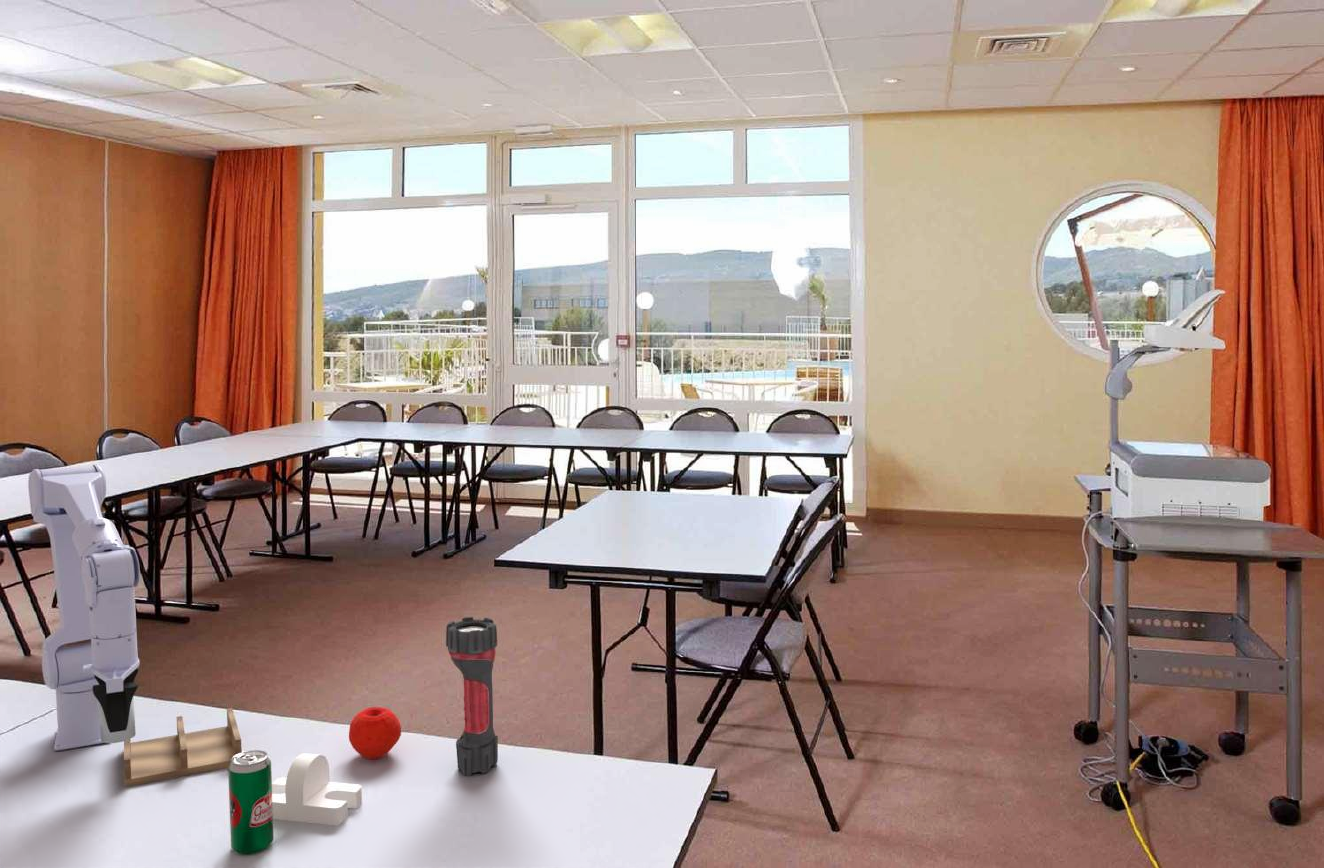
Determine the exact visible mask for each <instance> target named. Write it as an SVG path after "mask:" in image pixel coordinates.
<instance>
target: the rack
mask: <svg viewBox="0 0 1324 868" xmlns="http://www.w3.org/2000/svg"><path fill="white" fill-rule="evenodd" d="M226 720H227V721H226V722H227V725H226V726H221V727H214V728H209V729H204V730H199V731H192V732H191V731H190V732H185V726H184V720H183V715H180V716H176V731H177V732H176V733H177V734H175V735H174V734H173V735H169V736H163V737H157V738H151V739H146V740H145V739H144V740H140V741H133V742H131V739H129V740H126V741H123V768H124V784H125V787H132V786H137V785H142V784H146V783H152V782H157V781H162V780H169V779H175V778H178V777H184V776H191V775H195V774H199V773H204V772H210V771H214V770H221V769H226V768H228V767H229V765H230V764H231V759H232V757H233V756H235V755H237V754H239V753H241V752H243V751H242V738H241V734H240V730H239V728H238V724H237V721H236V720H237V719H236V716H235V713H234V709H233V707H229V708H226Z"/></svg>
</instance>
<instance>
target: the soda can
mask: <svg viewBox="0 0 1324 868" xmlns="http://www.w3.org/2000/svg"><path fill="white" fill-rule="evenodd" d="M268 756H269V754H268V753H267V751H264V750H261V749H255V750H254V749H252V750H246V751H242V752H241V753H239V754H237V755H235V756H233V757H232V759H231V764H230V765H229V767H227V776H228V777H227V778H228V779H227V780H228V801H229V802H228V805H229V825H230V826H229V829H230V831H229V832H230V847H231V850H233V851H234V853H236V854H239V855H241V856H249V855H256V854H259V853H261V852H263V851H265V850H267V849H268V848H269V847H270V846H271V844H272V843H273V842H274V839H275V837H274V819H273V803H272V782H273V779H272V776H273V775H272V761H271V759H270V758H269V757H268Z"/></svg>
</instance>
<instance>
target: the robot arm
mask: <svg viewBox="0 0 1324 868" xmlns="http://www.w3.org/2000/svg"><path fill="white" fill-rule="evenodd" d="M106 480H107V479H106V475H105V472H104V469H103V468H102V467H101V466H100V465H99V464H92V465H85V466H83V465H82V466H73V467H71V466H70V467H57V468H56V467H55V468H43V469H39V468H34V469H33V470H32V471H31V472H30V473H29V475H28V486H27V487H28V496H29V504H30V506H29V507H30V512H31V513H30V514H31V516H32V517H33V522H35V523H39V524H41V525H44V526H45V528H46V531H47V533H48V536H49V539H50V541H49V542H50V548H51V557H52V566H53V575H54V582H55V592H56V598H57V608H58V609H57V610H58V616H59V617H58V618H59V627H57V628H56V629H55V630H54V631H52V633H51V634H50V635H49V636H47V637H46V638H45V640H43V643H42V645H41V652H42V656H41V657H42V658H41V669H42V670H41V671H42V677H43V681H44V684H45V686H46V687H47V688H49V689H50V690H55V700H56V705H55V706H56V720H57V722H56V723H57V728H56V735H55V741H54V746H53V747H54V748H53V750H54V751H55V752H56V751H64V750H69V749H75V748H81V747H87V746H92V745H100V744H103V743H104V742H102V741H101V732H100V715H99V703H100V705H101V707H102V709H103V712H104V715H105V719H106V723H107V726H108V729H109V731H110V733H112V732H118V731H125V730H126V729H127V725H128V720H129V712H130V706H131V702H132V699H133V696H134V697H135V694H136V692H137V690H138V687H139V681H135V679H136V676H137V675H138V673H139V666H140V664H141V663H140V658H139V657H138V656H139V655H138V637H137V636H138V635H137V633H138V632H137V616H136V615H137V614H136V611H137V610H136V592H135V591H136V590H135V588H138V586H139V584H140V581H141V580H140V579H141V570H140V569H141V568H140V562H139V558H138V554H137V552H136V549H135V548H134V547H133V546H130V545H128V544H127V545H125V544H124V542H123V540H122V539H121V537H120V533H119V531H118V530H117V528H116V525H115V523H114V522H112V520H110V519H107V518H105V517H103V514H102V510H101V508H102V505H103V502H104V500H105V499H106V495H107V481H106ZM133 587H135V588H133ZM87 640H90V642H85V643H79V644H74V645H69V646H63V645H67V644H71V643H77V642H81V641H87ZM61 646H63V647H61ZM104 744H105V743H104Z"/></svg>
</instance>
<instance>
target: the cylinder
mask: <svg viewBox="0 0 1324 868" xmlns="http://www.w3.org/2000/svg"><path fill="white" fill-rule="evenodd" d="M134 697H135V695H134V696H133V699H132V702H131V706H130V712H129V720H128V725H127V729H126V730H125V731H118V732H112V733H110V731H109V729H108V726H107V723H106V719H105V715H104V712H103V709H102V707H101V705H100V703H99V715H100V732H101V741H102V742H104V744H105V743H106V744H117V743H124V741H126V740H129V739H130V740H131V739H133V738H134V737H135V736H136V735H137V734H136V715H135V713H136V712H135V700H134V699H135V698H134Z"/></svg>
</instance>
